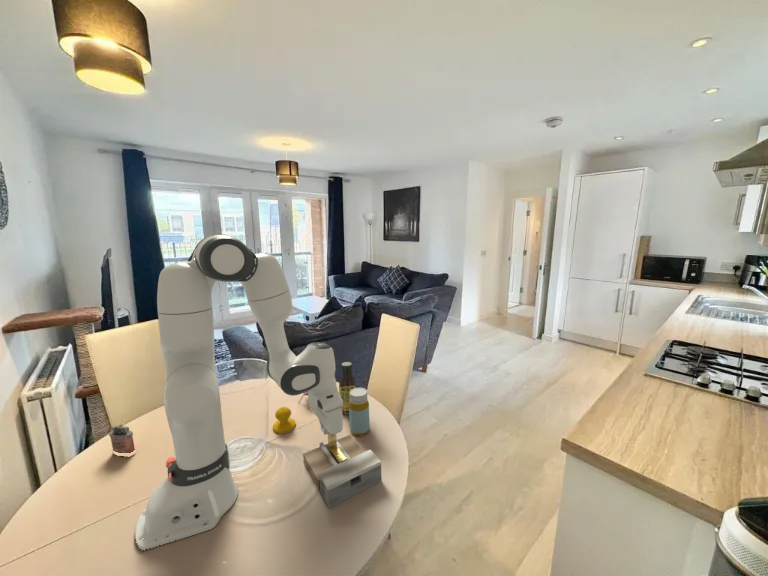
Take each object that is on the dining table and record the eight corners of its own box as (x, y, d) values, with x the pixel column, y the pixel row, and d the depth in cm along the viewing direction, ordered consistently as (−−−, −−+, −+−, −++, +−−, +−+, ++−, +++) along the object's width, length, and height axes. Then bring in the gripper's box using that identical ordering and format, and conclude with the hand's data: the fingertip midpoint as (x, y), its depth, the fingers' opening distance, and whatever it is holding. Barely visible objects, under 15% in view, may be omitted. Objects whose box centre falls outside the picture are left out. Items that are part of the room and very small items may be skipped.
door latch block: (303, 462, 97) (302, 444, 96) (350, 442, 106) (349, 425, 104) (329, 508, 80) (327, 487, 79) (381, 481, 89) (380, 461, 88)
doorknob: (278, 436, 110) (269, 426, 116) (299, 427, 115) (289, 418, 121) (276, 417, 109) (267, 408, 114) (297, 408, 114) (288, 400, 120)
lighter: (109, 455, 103) (104, 427, 101) (120, 448, 106) (115, 421, 104) (128, 458, 101) (123, 430, 99) (139, 451, 104) (134, 424, 102)
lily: (312, 413, 125) (321, 390, 127) (285, 402, 125) (294, 379, 127) (317, 406, 137) (325, 385, 139) (292, 396, 137) (301, 375, 139)
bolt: (327, 449, 98) (326, 432, 96) (334, 446, 99) (333, 429, 98) (339, 467, 90) (338, 448, 89) (347, 463, 91) (346, 445, 90)
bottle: (367, 437, 108) (365, 397, 105) (347, 435, 109) (345, 396, 107) (371, 425, 115) (370, 387, 112) (353, 423, 116) (351, 386, 114)
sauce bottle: (340, 416, 121) (338, 368, 117) (338, 408, 127) (335, 361, 123) (357, 413, 123) (355, 366, 119) (354, 405, 129) (352, 359, 125)
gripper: (302, 382, 106) (304, 419, 108) (325, 409, 89) (328, 453, 91) (319, 377, 109) (322, 413, 111) (345, 402, 92) (347, 445, 95)
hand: (325, 431), depth 101 cm, fingers closed
